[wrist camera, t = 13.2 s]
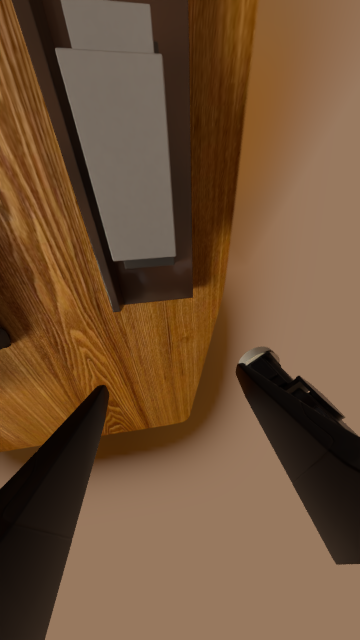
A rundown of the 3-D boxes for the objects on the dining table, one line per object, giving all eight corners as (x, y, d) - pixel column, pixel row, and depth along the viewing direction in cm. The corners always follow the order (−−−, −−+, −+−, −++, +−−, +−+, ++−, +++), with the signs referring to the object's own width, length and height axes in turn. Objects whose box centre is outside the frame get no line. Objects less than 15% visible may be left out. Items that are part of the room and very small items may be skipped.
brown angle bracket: (189, 291, 19) (196, 303, 15) (122, 298, 18) (113, 312, 14) (180, 11, 9) (196, -156, 6) (40, -2, 9) (-58, -208, 5)
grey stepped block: (173, 263, 15) (180, 270, 10) (128, 267, 14) (113, 276, 10) (158, 68, 9) (157, -115, 4) (81, 64, 9) (-7, -143, 4)
